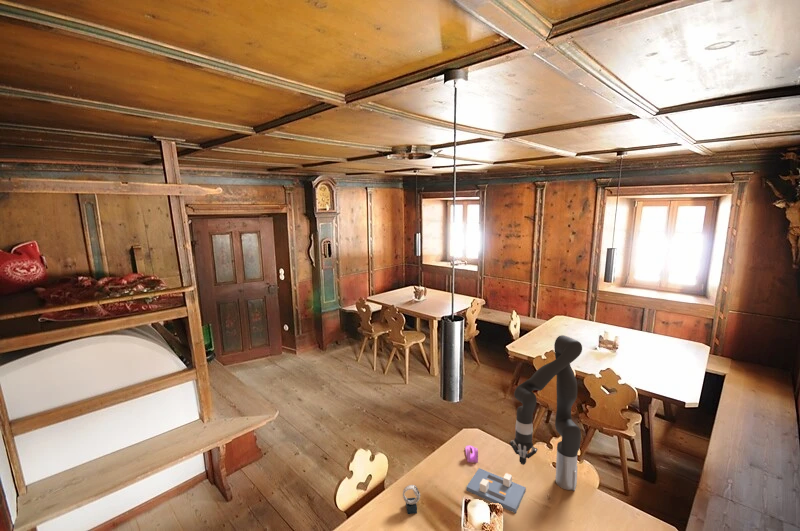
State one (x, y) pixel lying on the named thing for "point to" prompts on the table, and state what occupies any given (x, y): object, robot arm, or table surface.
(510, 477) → the tab
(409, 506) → the watch
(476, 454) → the bracket
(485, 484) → the tab
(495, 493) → the switch bank
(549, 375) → the robot arm
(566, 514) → the table surface
